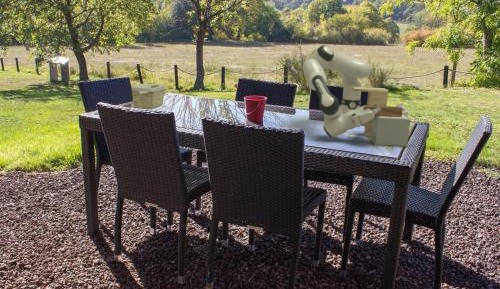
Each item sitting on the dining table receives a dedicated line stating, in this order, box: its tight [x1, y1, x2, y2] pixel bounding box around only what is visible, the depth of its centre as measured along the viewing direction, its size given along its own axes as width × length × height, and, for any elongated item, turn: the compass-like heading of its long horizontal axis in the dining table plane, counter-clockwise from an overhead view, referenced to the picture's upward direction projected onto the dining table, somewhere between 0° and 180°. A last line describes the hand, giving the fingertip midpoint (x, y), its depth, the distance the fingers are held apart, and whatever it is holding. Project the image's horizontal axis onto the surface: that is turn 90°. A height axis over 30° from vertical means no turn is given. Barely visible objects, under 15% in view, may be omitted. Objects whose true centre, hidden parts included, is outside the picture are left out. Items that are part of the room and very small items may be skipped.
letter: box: [378, 115, 409, 119], centre depth 240 cm, size 11×14×1 cm
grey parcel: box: [370, 116, 411, 147], centre depth 242 cm, size 12×16×14 cm
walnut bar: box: [363, 105, 403, 117], centre depth 240 cm, size 4×19×4 cm, turn 86°
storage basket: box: [131, 83, 166, 109], centre depth 322 cm, size 24×16×15 cm
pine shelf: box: [352, 86, 389, 138], centre depth 257 cm, size 9×18×26 cm, turn 87°
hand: (378, 106), depth 239 cm, fingers open, 8 cm apart
